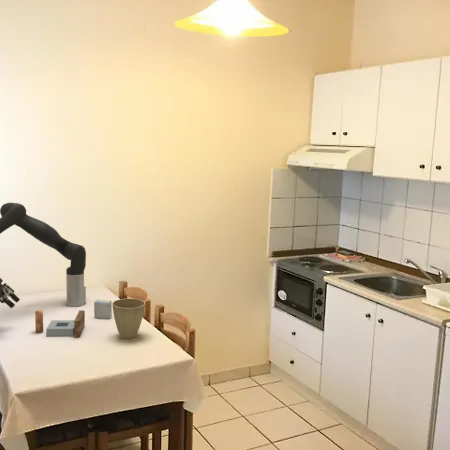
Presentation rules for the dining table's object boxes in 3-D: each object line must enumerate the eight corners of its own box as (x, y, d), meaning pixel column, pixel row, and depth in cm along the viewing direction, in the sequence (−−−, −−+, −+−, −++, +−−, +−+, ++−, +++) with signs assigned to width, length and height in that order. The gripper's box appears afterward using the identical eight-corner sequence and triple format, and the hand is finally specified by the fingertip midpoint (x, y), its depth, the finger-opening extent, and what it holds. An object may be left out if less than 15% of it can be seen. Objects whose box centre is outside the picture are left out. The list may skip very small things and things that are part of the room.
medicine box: (111, 316, 288) (111, 300, 287) (109, 319, 284) (109, 302, 283) (96, 315, 289) (96, 299, 288) (94, 318, 285) (93, 301, 283)
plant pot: (113, 343, 253) (113, 308, 250) (111, 331, 267) (111, 299, 264) (146, 340, 257) (147, 307, 254) (142, 329, 271) (142, 297, 268)
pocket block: (46, 337, 258) (46, 329, 257) (51, 328, 270) (51, 320, 269) (73, 337, 259) (73, 328, 259) (77, 328, 271) (77, 320, 270)
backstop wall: (74, 337, 258) (74, 320, 256) (79, 326, 272) (79, 310, 271) (79, 337, 258) (79, 320, 257) (84, 326, 273) (84, 310, 271)
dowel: (41, 330, 266) (40, 309, 264) (44, 332, 263) (44, 311, 262) (34, 331, 263) (33, 311, 262) (37, 333, 261) (37, 312, 259)
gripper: (-10, 278, 250) (17, 303, 253) (-1, 270, 264) (25, 294, 267) (-22, 289, 250) (5, 314, 253) (-12, 281, 264) (14, 304, 267)
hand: (16, 303), depth 260 cm, fingers open, 8 cm apart
